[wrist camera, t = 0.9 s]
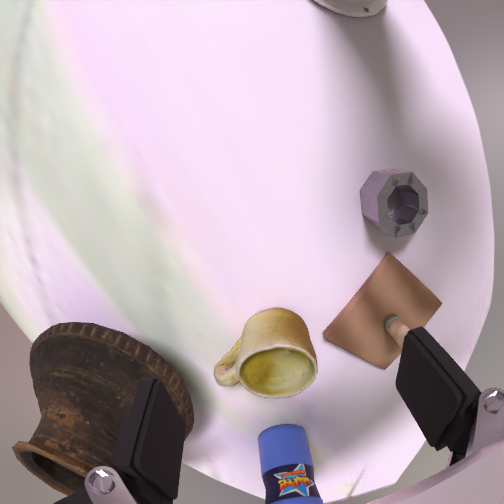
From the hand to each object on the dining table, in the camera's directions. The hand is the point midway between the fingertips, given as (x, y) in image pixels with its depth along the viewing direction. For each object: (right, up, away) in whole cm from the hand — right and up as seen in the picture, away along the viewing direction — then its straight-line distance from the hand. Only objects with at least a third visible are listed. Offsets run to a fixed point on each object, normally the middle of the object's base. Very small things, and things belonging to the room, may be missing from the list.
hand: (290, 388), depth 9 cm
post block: (+18, -4, +28) cm, 33 cm away
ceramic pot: (-21, -12, +28) cm, 38 cm away
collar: (+15, +12, +22) cm, 29 cm away
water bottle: (+4, -30, +36) cm, 47 cm away
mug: (0, -6, +28) cm, 28 cm away
